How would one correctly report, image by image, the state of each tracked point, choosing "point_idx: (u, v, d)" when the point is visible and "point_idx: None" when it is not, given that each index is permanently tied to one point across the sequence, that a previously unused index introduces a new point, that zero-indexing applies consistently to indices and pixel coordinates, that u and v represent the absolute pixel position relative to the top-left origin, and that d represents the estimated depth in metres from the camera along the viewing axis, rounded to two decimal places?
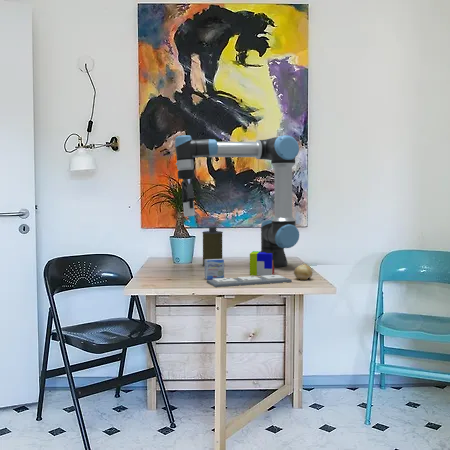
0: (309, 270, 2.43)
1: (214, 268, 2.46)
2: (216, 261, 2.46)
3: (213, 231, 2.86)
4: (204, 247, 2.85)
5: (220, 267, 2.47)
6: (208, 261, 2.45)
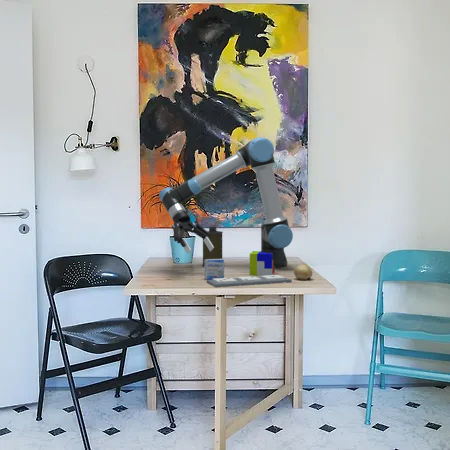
0: (309, 270, 2.43)
1: (214, 268, 2.46)
2: (216, 261, 2.46)
3: (213, 231, 2.86)
4: (204, 247, 2.85)
5: (220, 267, 2.47)
6: (208, 261, 2.45)
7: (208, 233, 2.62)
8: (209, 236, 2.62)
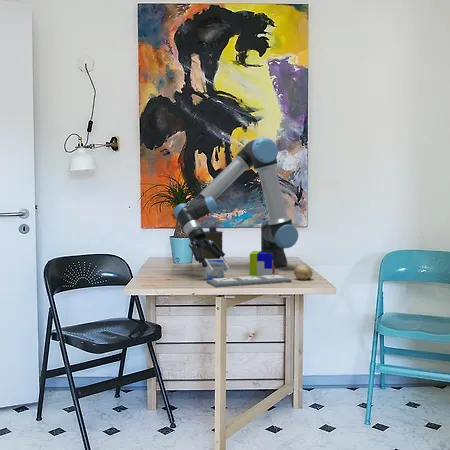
0: (309, 270, 2.43)
1: (214, 268, 2.46)
2: (216, 261, 2.46)
3: (213, 231, 2.86)
4: None
5: (220, 267, 2.47)
6: (208, 261, 2.45)
7: (223, 253, 2.54)
8: (223, 256, 2.54)
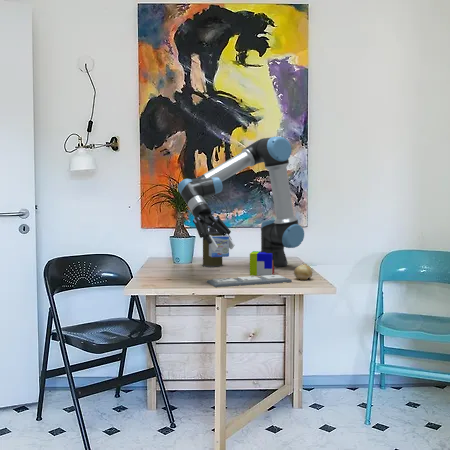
0: (309, 270, 2.43)
1: (219, 245, 2.35)
2: (221, 238, 2.35)
3: (213, 231, 2.86)
4: (204, 247, 2.85)
5: (225, 244, 2.36)
6: (213, 237, 2.34)
7: (228, 230, 2.43)
8: (229, 233, 2.43)
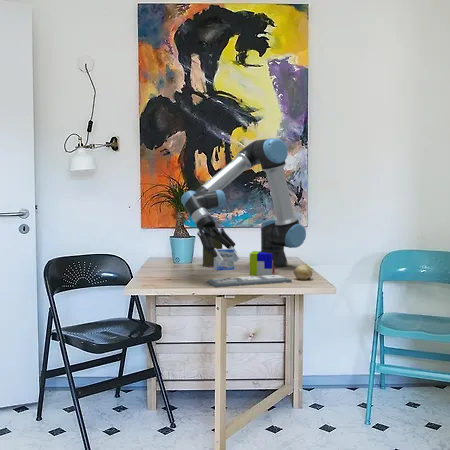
0: (309, 270, 2.43)
1: (224, 259, 2.32)
2: (226, 251, 2.32)
3: None
4: None
5: (230, 257, 2.33)
6: (218, 251, 2.31)
7: (233, 242, 2.40)
8: None
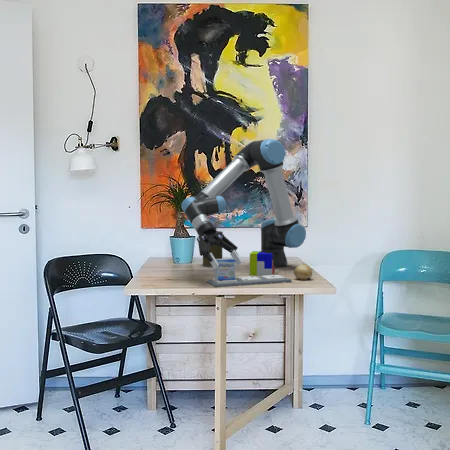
0: (309, 270, 2.43)
1: (225, 269, 2.33)
2: (227, 261, 2.33)
3: None
4: None
5: (231, 267, 2.34)
6: (219, 261, 2.32)
7: (235, 246, 2.43)
8: (236, 249, 2.43)
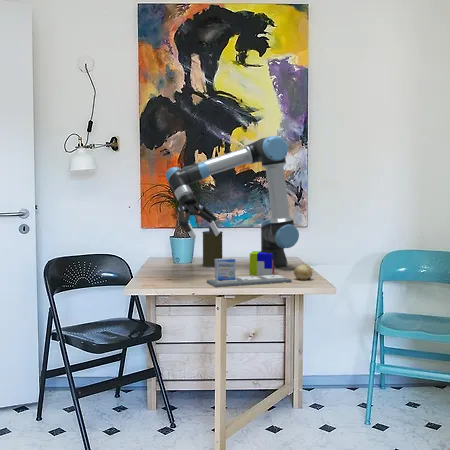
0: (309, 270, 2.43)
1: (225, 269, 2.33)
2: (227, 261, 2.33)
3: None
4: (204, 247, 2.85)
5: (231, 267, 2.34)
6: (219, 261, 2.32)
7: (214, 217, 2.54)
8: (215, 220, 2.55)
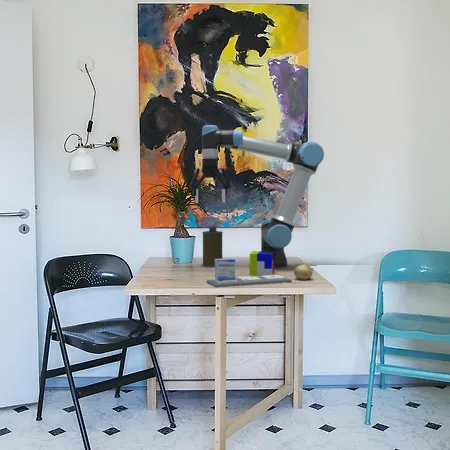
0: (309, 270, 2.43)
1: (225, 269, 2.33)
2: (227, 261, 2.33)
3: (213, 231, 2.86)
4: (204, 247, 2.85)
5: (231, 267, 2.34)
6: (219, 261, 2.32)
7: (229, 185, 2.72)
8: None
